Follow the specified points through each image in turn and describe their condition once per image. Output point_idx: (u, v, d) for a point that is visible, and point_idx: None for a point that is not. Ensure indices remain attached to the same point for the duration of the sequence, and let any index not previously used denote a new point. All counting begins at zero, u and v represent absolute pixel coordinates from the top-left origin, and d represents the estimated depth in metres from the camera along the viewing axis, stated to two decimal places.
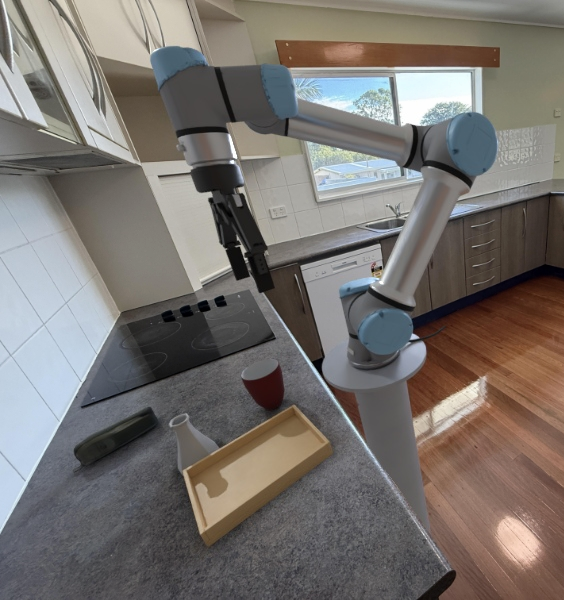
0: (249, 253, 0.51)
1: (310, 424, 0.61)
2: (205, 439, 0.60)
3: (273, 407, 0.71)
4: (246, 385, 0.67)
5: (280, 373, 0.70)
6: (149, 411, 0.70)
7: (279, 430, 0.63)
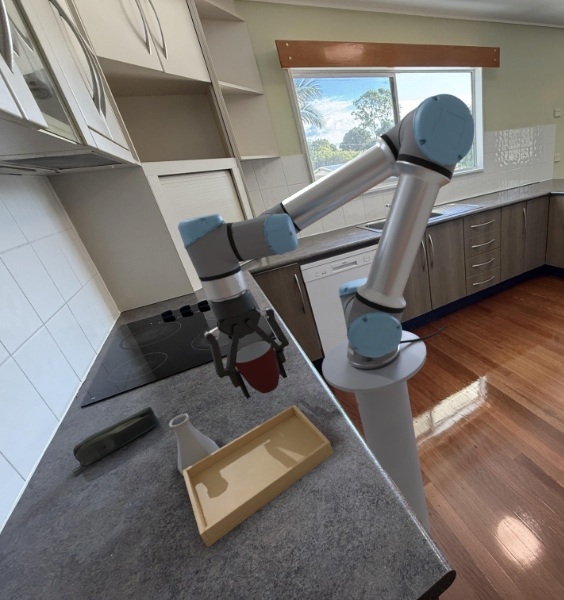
0: None
1: (310, 424, 0.61)
2: (205, 439, 0.60)
3: (269, 390, 0.69)
4: (238, 368, 0.65)
5: (273, 355, 0.68)
6: (149, 411, 0.70)
7: (279, 430, 0.63)
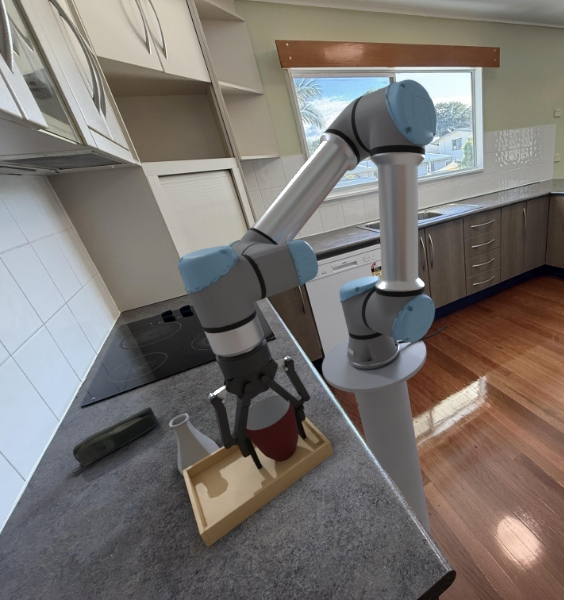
0: None
1: (310, 424, 0.61)
2: (205, 439, 0.60)
3: (285, 458, 0.56)
4: (250, 435, 0.51)
5: (292, 416, 0.55)
6: (149, 412, 0.70)
7: None
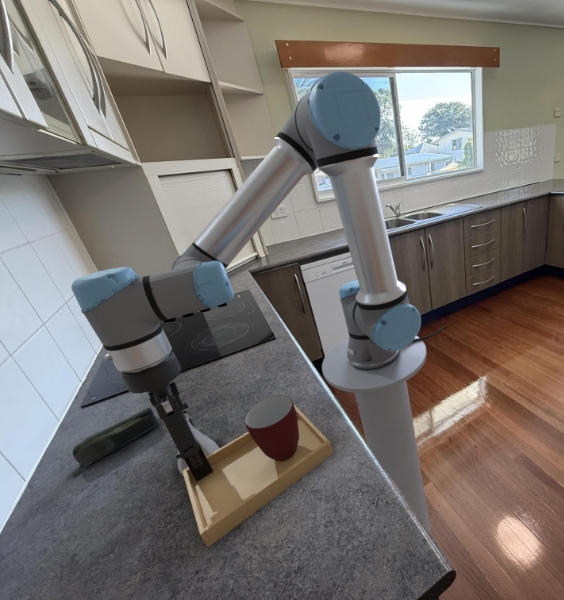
0: None
1: (310, 424, 0.61)
2: (205, 439, 0.60)
3: (285, 458, 0.56)
4: (252, 434, 0.52)
5: (294, 416, 0.55)
6: (149, 412, 0.70)
7: None
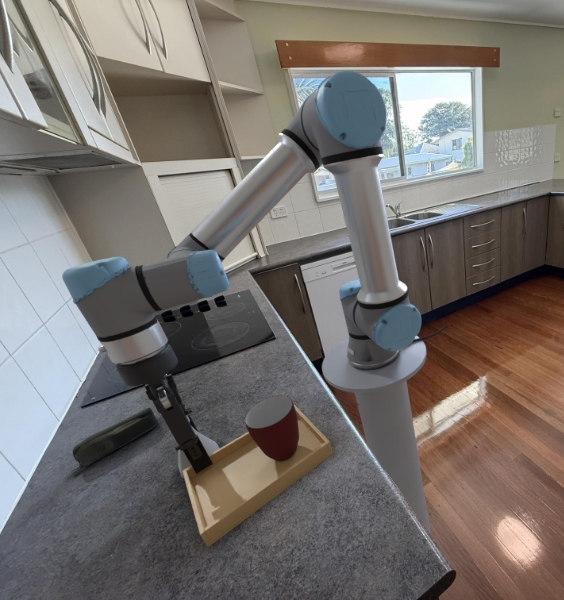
0: None
1: (310, 424, 0.61)
2: (206, 442, 0.59)
3: (285, 458, 0.56)
4: (252, 434, 0.52)
5: (294, 416, 0.55)
6: (149, 412, 0.70)
7: None
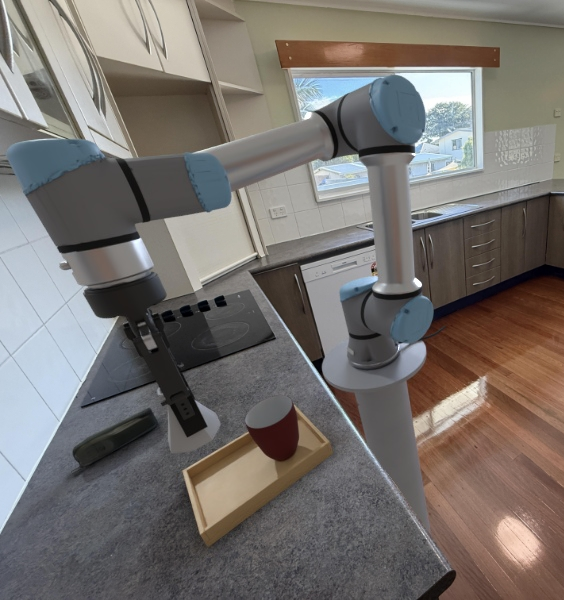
0: None
1: (310, 424, 0.61)
2: (203, 412, 0.47)
3: (285, 458, 0.56)
4: (252, 434, 0.52)
5: (294, 416, 0.55)
6: (148, 412, 0.70)
7: None
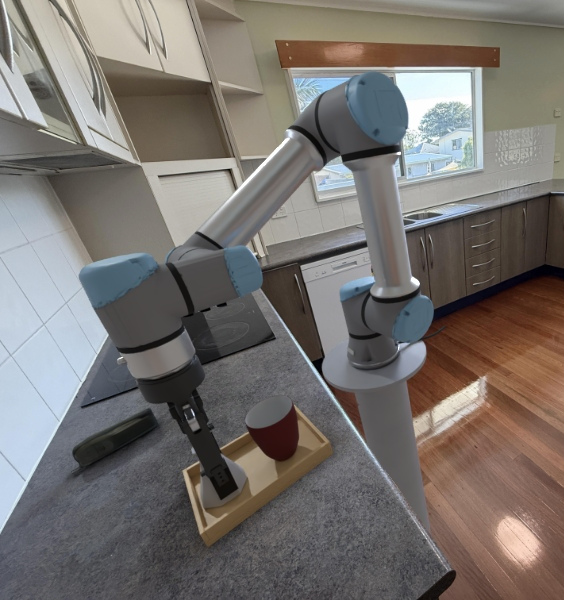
0: None
1: (310, 424, 0.61)
2: (231, 467, 0.52)
3: (285, 458, 0.56)
4: (252, 434, 0.52)
5: (294, 416, 0.55)
6: (148, 413, 0.70)
7: None
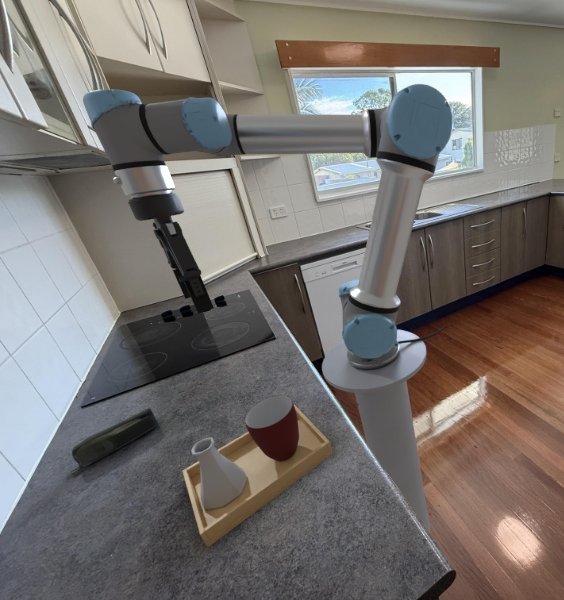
0: (184, 277, 0.54)
1: (310, 424, 0.61)
2: (231, 468, 0.52)
3: (285, 458, 0.56)
4: (252, 434, 0.52)
5: (294, 416, 0.55)
6: (148, 413, 0.69)
7: None
